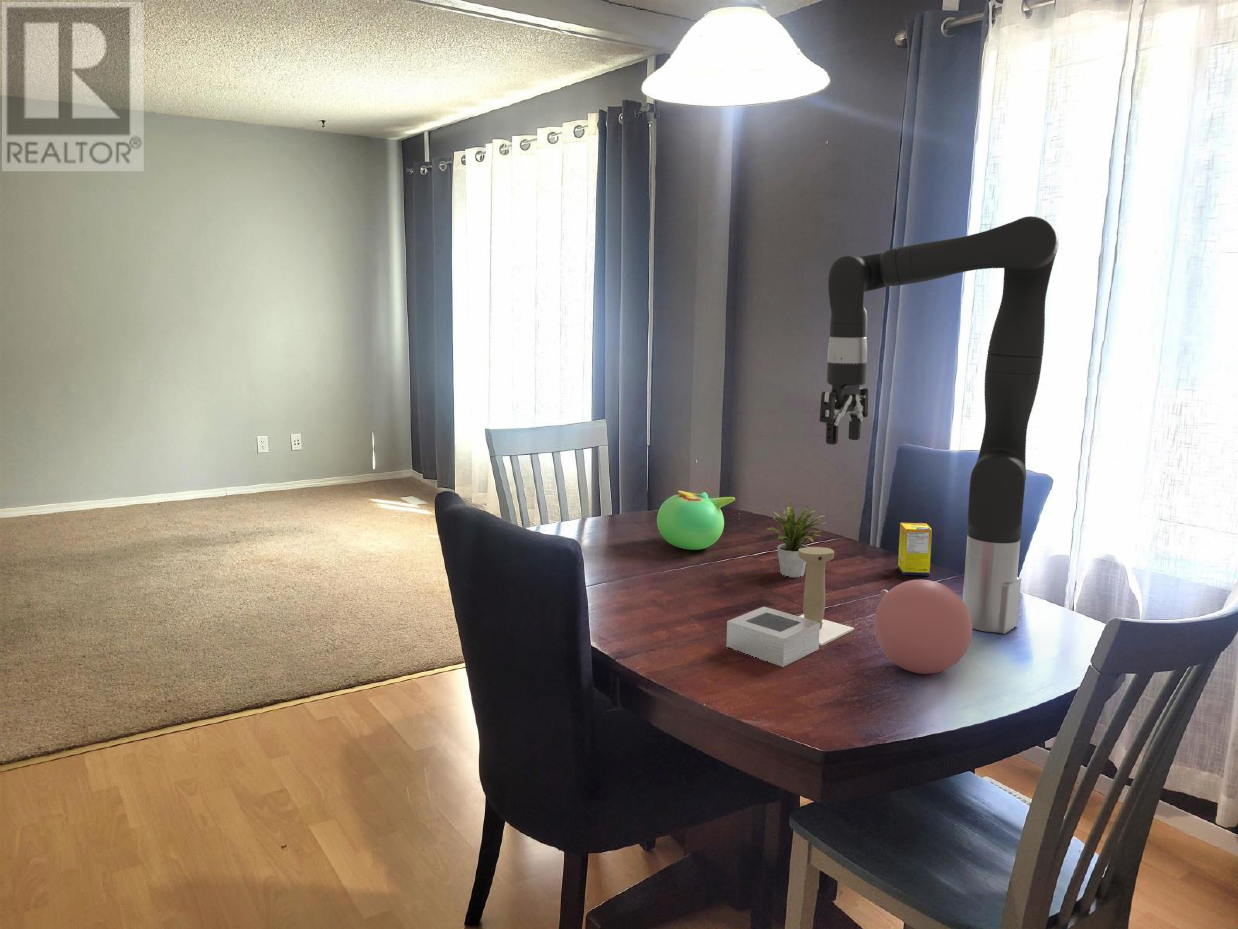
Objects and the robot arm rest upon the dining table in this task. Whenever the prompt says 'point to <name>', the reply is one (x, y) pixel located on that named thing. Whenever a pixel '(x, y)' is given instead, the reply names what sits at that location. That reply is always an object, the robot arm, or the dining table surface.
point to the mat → (831, 631)
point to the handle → (815, 581)
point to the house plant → (793, 541)
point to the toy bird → (692, 520)
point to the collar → (773, 635)
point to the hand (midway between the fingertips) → (843, 441)
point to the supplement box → (914, 549)
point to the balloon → (922, 626)
